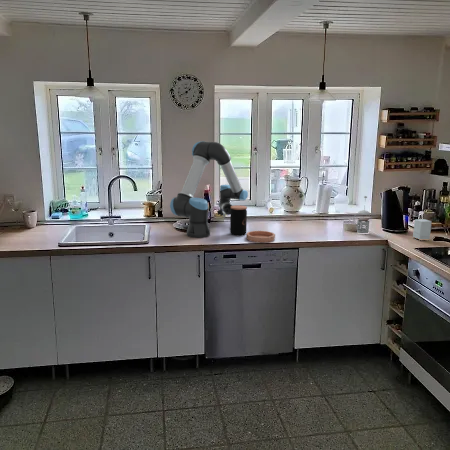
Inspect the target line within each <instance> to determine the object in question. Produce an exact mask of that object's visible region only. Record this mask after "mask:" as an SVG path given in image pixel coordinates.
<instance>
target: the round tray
mask: <svg viewBox="0 0 450 450" xmlns="http://www.w3.org/2000/svg"><path fill="white" fill-rule="evenodd" d="M245 235H246V236H245V238H246V240H248V241H250V242H254V243H271V242H274V241H275V239H276V233H274V232H272V231H269V230H251V231H248V232H246V234H245Z"/></svg>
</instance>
